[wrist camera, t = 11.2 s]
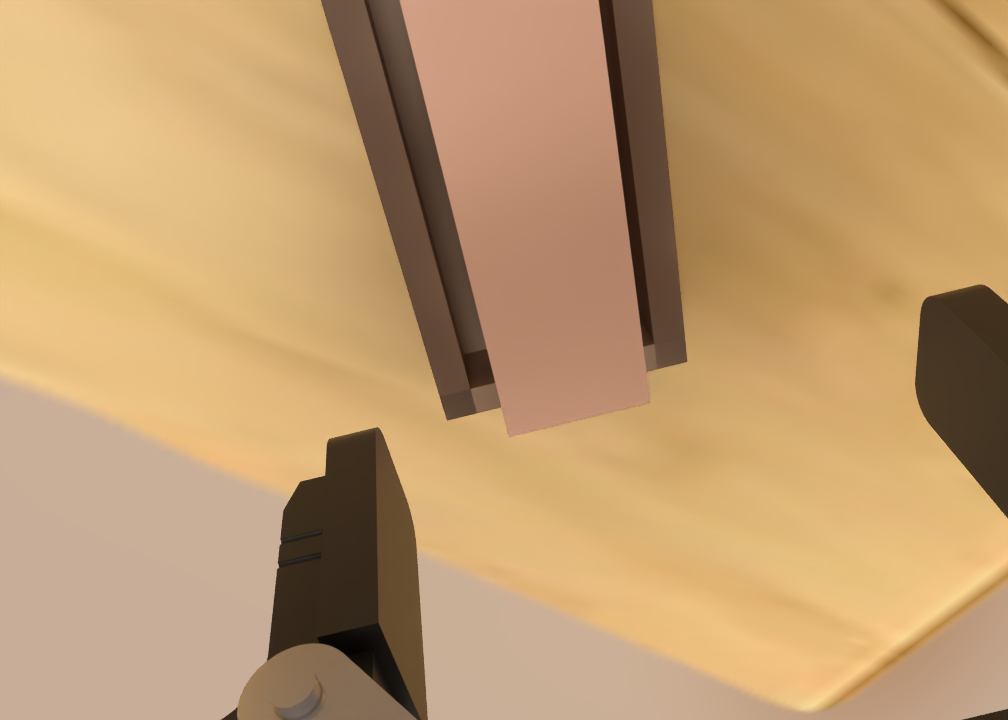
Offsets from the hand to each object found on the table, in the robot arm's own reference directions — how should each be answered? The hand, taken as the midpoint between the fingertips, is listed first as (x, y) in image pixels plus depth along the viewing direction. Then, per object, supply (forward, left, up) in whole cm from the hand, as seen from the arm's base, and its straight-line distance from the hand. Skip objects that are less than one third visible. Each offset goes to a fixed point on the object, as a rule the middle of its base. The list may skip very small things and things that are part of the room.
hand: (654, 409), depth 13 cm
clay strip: (0, 0, -15) cm, 15 cm away
